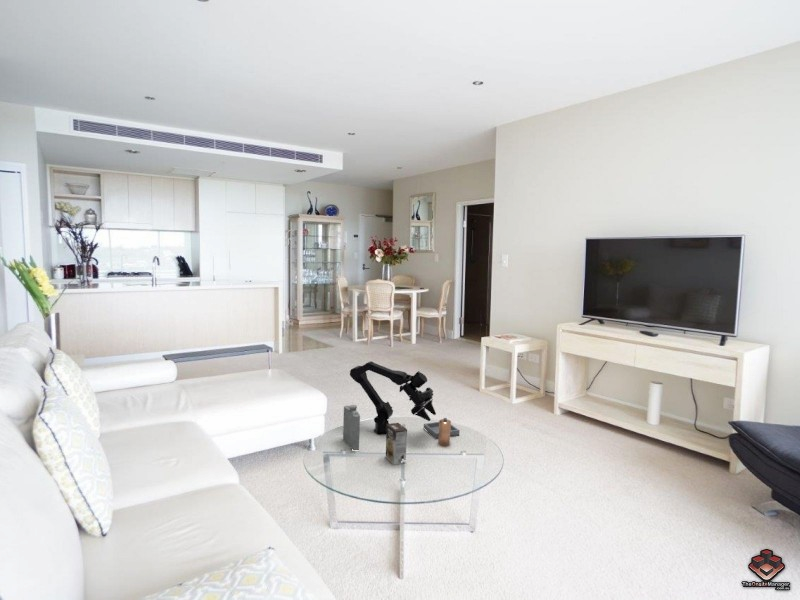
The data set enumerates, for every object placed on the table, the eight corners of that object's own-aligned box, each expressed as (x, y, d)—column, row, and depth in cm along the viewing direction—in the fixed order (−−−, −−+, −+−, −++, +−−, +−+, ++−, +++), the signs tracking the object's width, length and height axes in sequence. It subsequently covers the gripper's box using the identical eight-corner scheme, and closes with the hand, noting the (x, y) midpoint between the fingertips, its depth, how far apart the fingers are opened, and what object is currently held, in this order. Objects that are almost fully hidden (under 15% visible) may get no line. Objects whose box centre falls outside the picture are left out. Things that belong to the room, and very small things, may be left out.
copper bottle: (441, 447, 231) (443, 421, 230) (436, 442, 236) (437, 417, 235) (451, 445, 234) (453, 419, 232) (446, 441, 239) (447, 415, 237)
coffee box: (384, 457, 218) (386, 424, 216) (397, 454, 221) (398, 421, 219) (393, 465, 210) (395, 431, 208) (406, 462, 213) (407, 429, 211)
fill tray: (435, 439, 240) (436, 433, 240) (423, 429, 253) (423, 423, 253) (459, 435, 246) (459, 430, 246) (445, 425, 259) (446, 420, 259)
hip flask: (342, 439, 236) (343, 401, 234) (349, 438, 238) (350, 400, 235) (353, 452, 222) (354, 411, 220) (361, 450, 224) (362, 410, 221)
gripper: (418, 389, 227) (438, 414, 224) (429, 379, 244) (449, 402, 242) (402, 402, 231) (422, 427, 228) (415, 391, 248) (433, 414, 245)
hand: (432, 417), depth 236 cm, fingers open, 9 cm apart
